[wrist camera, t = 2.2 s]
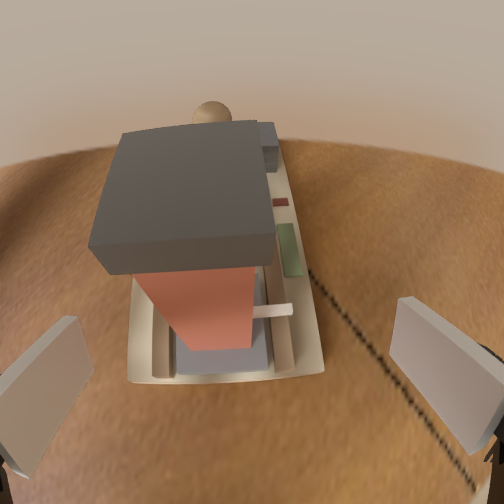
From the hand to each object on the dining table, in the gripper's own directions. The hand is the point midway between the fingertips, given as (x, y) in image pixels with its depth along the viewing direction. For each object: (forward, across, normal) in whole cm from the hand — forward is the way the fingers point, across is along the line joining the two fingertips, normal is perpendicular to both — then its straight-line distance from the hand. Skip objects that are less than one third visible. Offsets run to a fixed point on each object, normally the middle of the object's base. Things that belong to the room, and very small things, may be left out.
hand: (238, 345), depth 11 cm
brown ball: (+19, -2, +11) cm, 22 cm away
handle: (+9, 0, -4) cm, 10 cm away
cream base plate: (+16, -2, 0) cm, 16 cm away
